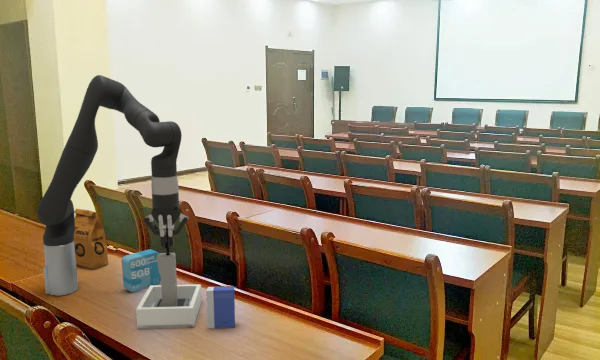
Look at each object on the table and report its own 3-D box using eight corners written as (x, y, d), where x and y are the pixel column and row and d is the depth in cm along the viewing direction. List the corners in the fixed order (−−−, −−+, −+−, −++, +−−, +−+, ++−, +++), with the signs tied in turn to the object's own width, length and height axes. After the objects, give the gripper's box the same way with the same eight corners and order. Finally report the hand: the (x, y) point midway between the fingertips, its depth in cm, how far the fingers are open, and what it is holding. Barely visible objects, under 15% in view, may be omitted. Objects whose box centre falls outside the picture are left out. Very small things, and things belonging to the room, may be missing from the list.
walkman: (235, 322, 145) (234, 284, 142) (234, 327, 142) (233, 288, 140) (208, 324, 144) (206, 285, 142) (207, 328, 141) (205, 289, 139)
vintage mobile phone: (161, 304, 151) (157, 226, 146) (177, 303, 151) (174, 226, 147) (159, 310, 147) (154, 230, 142) (176, 309, 148) (172, 229, 143)
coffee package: (90, 272, 183) (85, 215, 179) (69, 265, 189) (64, 210, 185) (112, 264, 191) (108, 209, 187) (92, 258, 198) (88, 205, 194)
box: (137, 328, 141) (136, 309, 140) (151, 303, 158) (150, 285, 156) (193, 327, 142) (192, 308, 141) (201, 301, 159) (200, 284, 157)
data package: (129, 293, 165) (127, 259, 162) (123, 289, 168) (121, 256, 165) (161, 283, 173) (159, 251, 171) (154, 279, 176) (153, 248, 174)
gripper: (138, 193, 138) (141, 252, 142) (186, 193, 139) (188, 251, 142) (144, 188, 146) (147, 244, 149) (190, 188, 146) (192, 243, 150)
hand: (167, 247), depth 146 cm, fingers closed on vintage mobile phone, 1 cm apart
